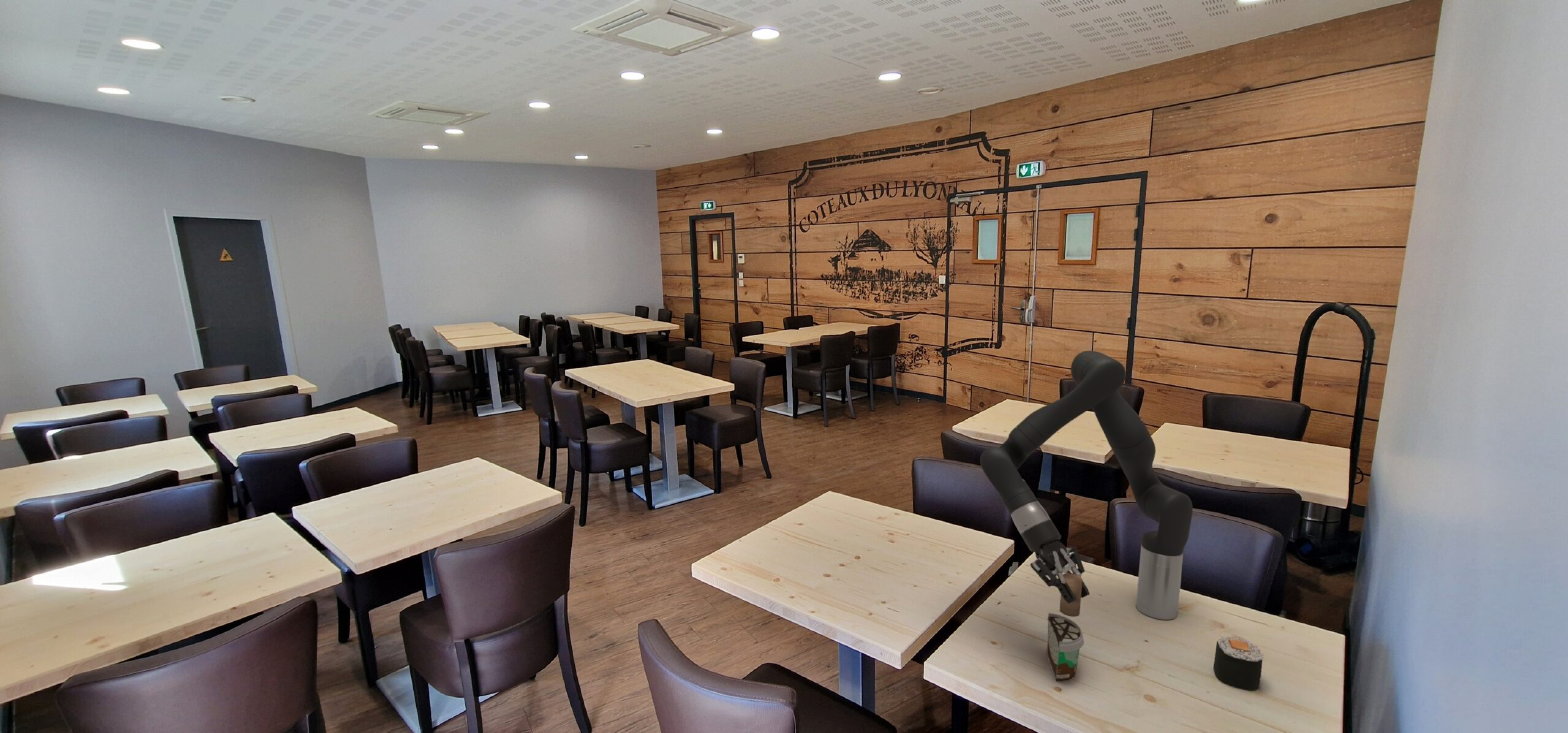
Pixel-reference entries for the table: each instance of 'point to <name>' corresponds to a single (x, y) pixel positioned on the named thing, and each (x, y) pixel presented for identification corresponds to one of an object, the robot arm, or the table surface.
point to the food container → (1063, 646)
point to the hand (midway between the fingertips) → (1079, 598)
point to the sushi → (1238, 663)
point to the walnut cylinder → (1076, 587)
